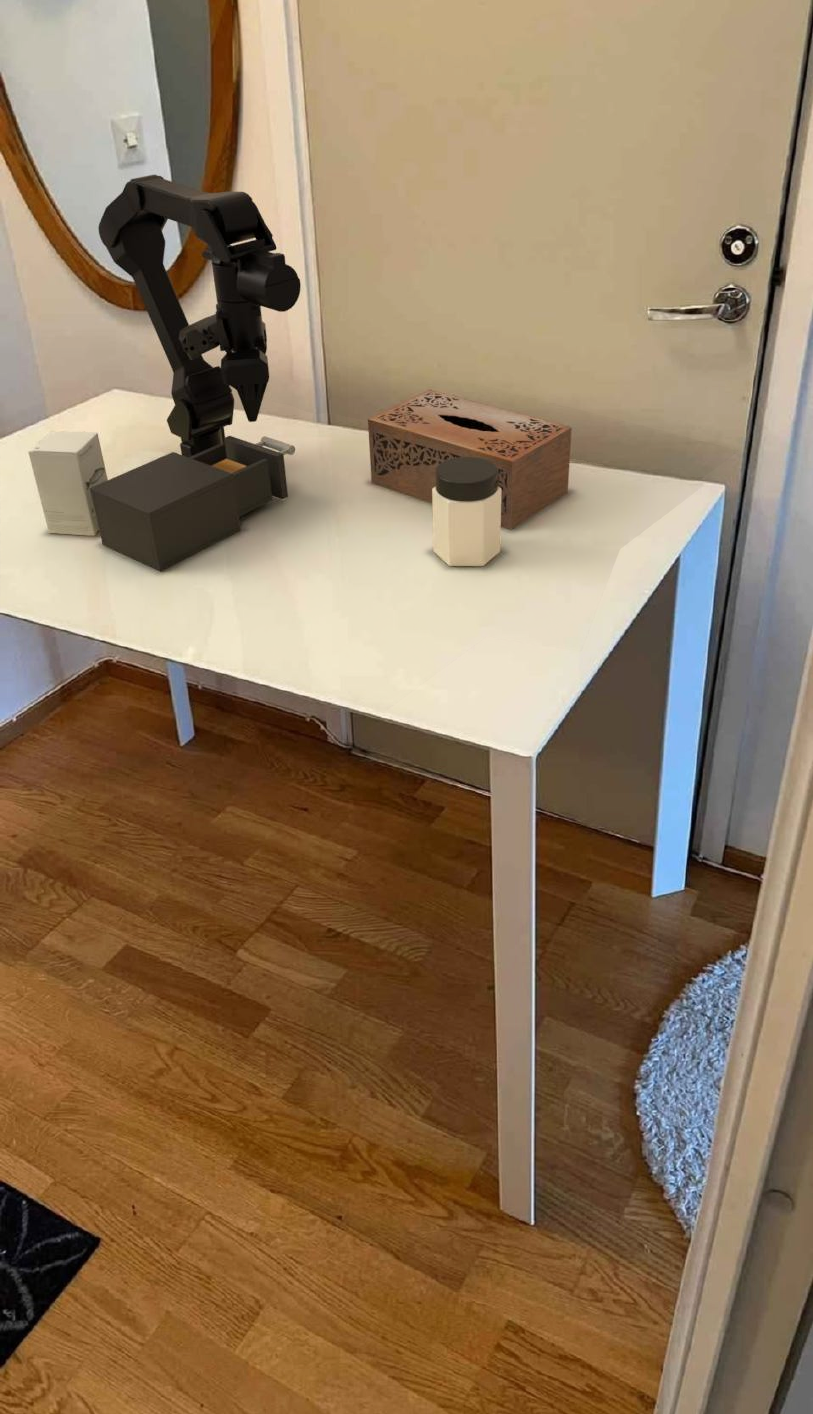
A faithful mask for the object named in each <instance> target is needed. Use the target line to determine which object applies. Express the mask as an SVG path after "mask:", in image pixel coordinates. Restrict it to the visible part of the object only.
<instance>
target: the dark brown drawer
mask: <svg viewBox="0 0 813 1414" xmlns="http://www.w3.org/2000/svg"><path fill="white" fill-rule="evenodd" d="M224 442H225V448H226V455H227V459H229V460H231V461H234V462H237V463H240V464H242V465H245V466H247V467H245V468H243V469H241V470H239V471H237V472H234V473H232V474H233V479H234V486H235V492H236V499H237V506H238V513H239V518H240V517H242V516H244V515H246V514H248V513H250V512H252V511H254V510H256V509H257V508H259V507H261V506H264V505H265V504H267V503H270V502H271V501H273V497H274V498H277V499H279V500H281V501H282V500H286V499H287V498H289V493H288V484H287V475H286V474H287V473H286V466H285V465H286V464H285V456H286V455H290V456H293V455H294V454H295V453H296V446H295V445H293V444H289V443H286V442H283V441H280V440H277V439H275V438H271V437H269V436H265V435H264V436H262V437H261V439H260V441H258V442H256V443H253V442H250V441H247V440H244V439H241V438H238V437H236V436H233V435H228V436H225V438H224ZM225 448H224V444H218V445H216V446H214V447H211V448H209V449H207V450H205V451H202V452H200V453H198V454H196V455H193V456H191V457H189V458H191V459H194V460H196V461H199V462H202V463H205V464H207V465H210V466H212V465H214V464H216V463H218V462H221V461H223V460H225V459H226V455H225Z"/></svg>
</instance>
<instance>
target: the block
mask: <svg viewBox="0 0 813 1414" xmlns="http://www.w3.org/2000/svg"><path fill="white" fill-rule="evenodd" d="M212 466H213V467H216V468H218V469H221V470H224V471H226V472H229V473H234V472H237V471H239V470H241V469H243V468H245V467H247V466H245V465H242V464H240V463H237V462H234V461H231V460H229V459H225V460H223V461H221V462H218V463H216V464H214V465H212Z"/></svg>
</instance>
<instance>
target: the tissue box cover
mask: <svg viewBox="0 0 813 1414" xmlns="http://www.w3.org/2000/svg"><path fill="white" fill-rule="evenodd" d="M367 427H368V429H367V431H368V445H369V462H370V464H369V465H370V479H371V480H370V481H371V484H375V485H378V486H381V487H383V488H385V489H389V490H393V491H396V492H399V493H401V494H404V495H407V496H410V497H414V498H417V499H419V500H422V501H425V502H428V503H431V504H432V489H433V488H434V487H435V470H436V468H437V466H438V465H439V464H440V463H442V462H444V461H446V460H449V459H453V458H458V457H477V458H483V459H486V460H489V461H491V462H493V463H494V464H495V465H496V466H497V467H498V474H499V484H498V486H499V487H500V488H501V490H502V491H501V528H502V527H503V528H506V529H509V530H512V529H514V528H516V527H517V526H518V525H519V524H520V525H521V523H523V522H524V521H526V520H527V519H529V518H530V517H532V516H533V515H535V514H537V513H538V512H540V511H541V510H543V509H544V508H546V507H548V506H549V505H550V504H552V503H553V502H555V501H557V500H558V499H560V498H561V497H562V496H564V495H566V494H567V493H568V492H569V477H570V475H569V474H570V460H571V445H572V432H573V431H572V429H573V427H572V426H569V425H565V424H561V423H557V422H553V421H550V420H546V419H542V418H539V417H535V416H532V415H527V414H523V413H520V412H516V411H512V410H508V409H505V408H501V407H498V406H493V405H489V404H487V403H482V402H478V401H474V400H471V399H467V398H463V397H459V396H455V395H453V394H452V395H451V394H448V393H445V392H440V391H437V390H433V389H427V390H426V391H424V392H423V391H422V393H420V394H417V395H415V396H412V398H409V399H406V400H404V401H403V402H401V403H398V404H396V405H394V406H393V407H390V408H388V409H386V410H384V411H382V412H379V413H378V414H376V415H373V416H372V417H370V418H367Z"/></svg>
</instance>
